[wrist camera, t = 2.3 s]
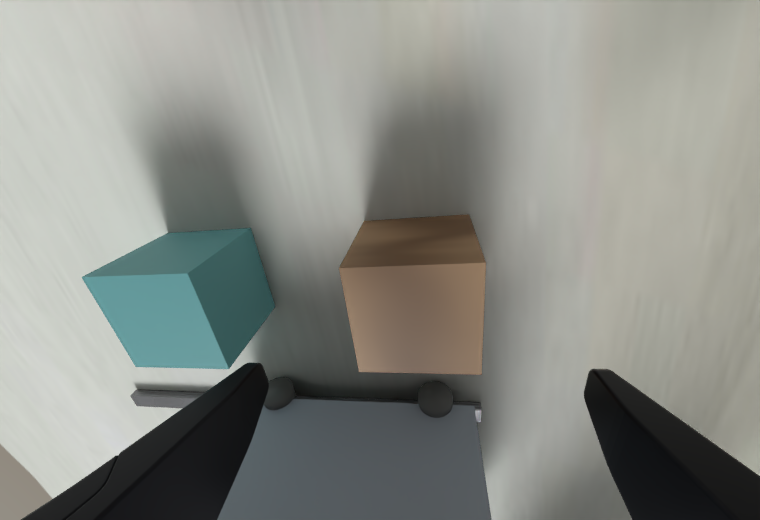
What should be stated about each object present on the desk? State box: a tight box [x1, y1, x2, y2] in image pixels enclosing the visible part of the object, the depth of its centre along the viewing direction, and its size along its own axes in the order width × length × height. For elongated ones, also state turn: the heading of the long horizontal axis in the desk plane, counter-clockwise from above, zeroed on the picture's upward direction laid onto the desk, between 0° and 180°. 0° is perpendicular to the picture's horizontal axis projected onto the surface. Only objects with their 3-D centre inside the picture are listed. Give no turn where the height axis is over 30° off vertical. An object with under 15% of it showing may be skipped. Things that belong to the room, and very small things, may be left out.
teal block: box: [82, 228, 275, 369], centre depth 14 cm, size 4×4×4 cm
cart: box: [217, 377, 491, 520], centre depth 18 cm, size 13×12×7 cm
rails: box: [131, 390, 482, 422], centre depth 21 cm, size 23×8×1 cm, turn 96°
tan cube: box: [339, 214, 486, 375], centre depth 13 cm, size 4×4×4 cm
